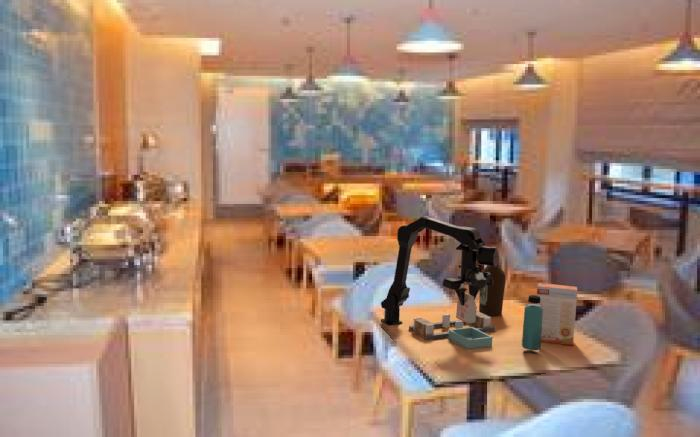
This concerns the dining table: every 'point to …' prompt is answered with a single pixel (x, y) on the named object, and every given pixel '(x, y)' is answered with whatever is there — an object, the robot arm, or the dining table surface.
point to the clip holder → (448, 323)
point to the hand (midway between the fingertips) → (466, 304)
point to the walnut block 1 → (421, 326)
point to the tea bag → (467, 309)
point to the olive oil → (493, 292)
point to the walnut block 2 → (479, 320)
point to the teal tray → (470, 338)
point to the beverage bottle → (532, 324)
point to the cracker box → (557, 312)
